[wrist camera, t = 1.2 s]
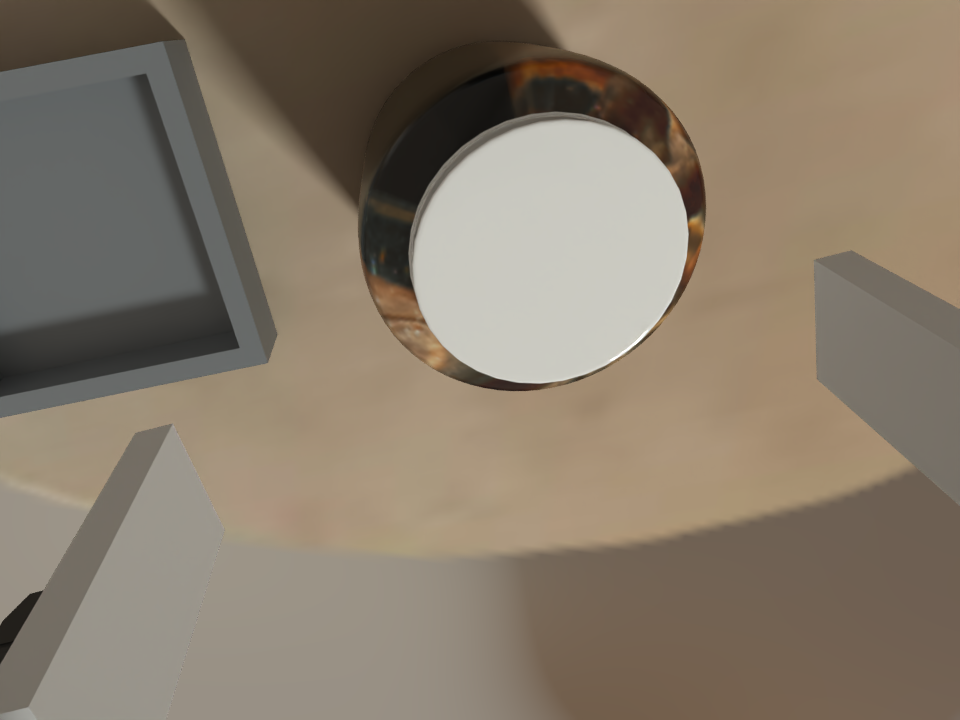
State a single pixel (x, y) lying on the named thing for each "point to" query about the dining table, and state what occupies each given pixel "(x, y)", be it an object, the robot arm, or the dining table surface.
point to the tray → (118, 233)
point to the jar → (527, 214)
